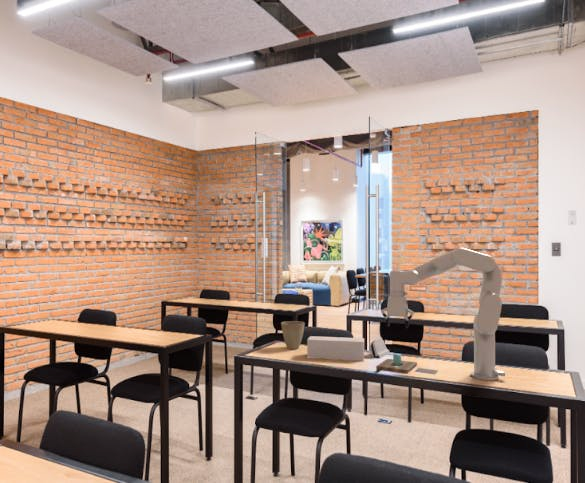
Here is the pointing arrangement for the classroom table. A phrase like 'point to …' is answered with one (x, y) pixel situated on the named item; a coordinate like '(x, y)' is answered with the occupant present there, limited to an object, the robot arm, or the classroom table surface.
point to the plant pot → (292, 333)
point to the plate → (426, 371)
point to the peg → (397, 359)
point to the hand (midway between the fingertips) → (397, 327)
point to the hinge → (378, 348)
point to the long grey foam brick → (335, 348)
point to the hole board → (389, 366)
